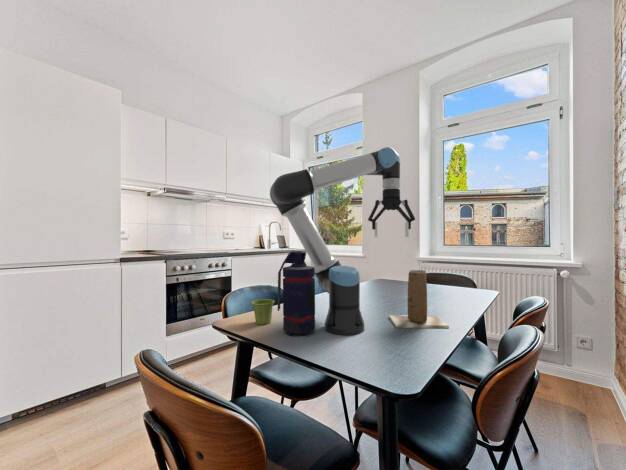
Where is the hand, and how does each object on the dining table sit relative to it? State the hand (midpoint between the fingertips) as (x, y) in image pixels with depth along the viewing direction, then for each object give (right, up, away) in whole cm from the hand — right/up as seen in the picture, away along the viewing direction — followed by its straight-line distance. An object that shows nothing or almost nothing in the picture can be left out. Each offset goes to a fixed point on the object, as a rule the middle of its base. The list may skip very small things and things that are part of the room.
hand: (391, 237), depth 135 cm
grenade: (-41, -35, -22) cm, 58 cm away
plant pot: (-55, -35, -10) cm, 66 cm away
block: (+8, -34, -11) cm, 36 cm away
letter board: (+8, -35, -11) cm, 37 cm away
